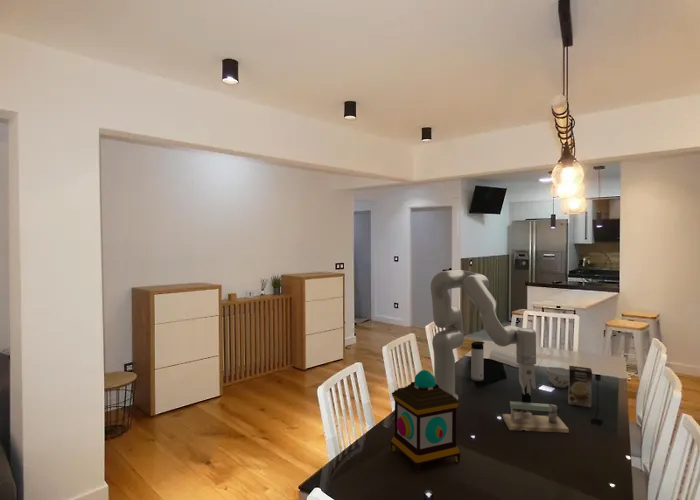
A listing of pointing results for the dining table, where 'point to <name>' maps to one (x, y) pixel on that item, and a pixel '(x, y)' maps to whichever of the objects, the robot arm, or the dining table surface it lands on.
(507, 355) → the crystal
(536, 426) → the pintle board
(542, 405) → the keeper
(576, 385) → the coffee box
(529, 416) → the collar
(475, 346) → the travel mug
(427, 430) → the decorative lantern
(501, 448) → the dining table surface
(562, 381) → the teacup
